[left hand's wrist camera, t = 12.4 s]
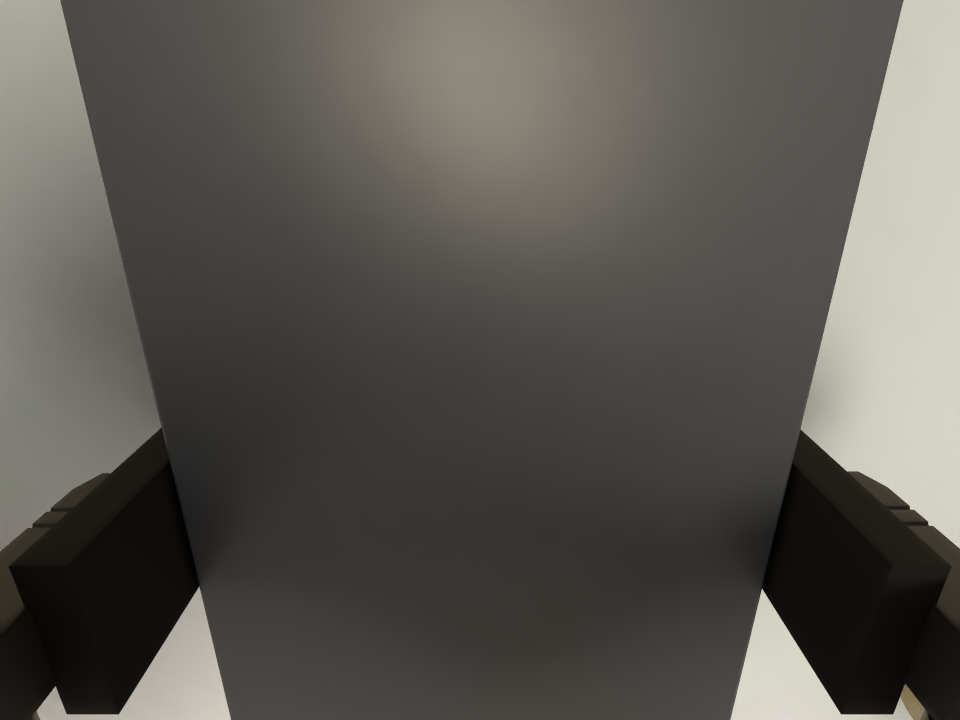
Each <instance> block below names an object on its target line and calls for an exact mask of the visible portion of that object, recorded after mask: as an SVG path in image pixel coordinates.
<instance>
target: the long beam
mask: <svg viewBox="0 0 960 720" xmlns="http://www.w3.org/2000/svg"><path fill="white" fill-rule="evenodd" d="M902 4H903V0H61V5H62V9H63V13H64V17H65V21H66V26H67V30H68V34H69V38H70V43H71V47H72V51H73V55H74V59H75V64H76V68H77V72H78V76H79V80H80V85H81V89H82V93H83V97H84V102H85V106H86V110H87V114H88V118H89V123H90V127H91V131H92V135H93V139H94V144H95V148H96V152H97V156H98V160H99V165H100V169H101V173H102V177H103V182H104V186H105V190H106V194H107V198H108V203H109V207H110V211H111V215H112V219H113V224H114V228H115V232H116V236H117V241H118V245H119V249H120V253H121V257H122V262H123V266H124V270H125V274H126V278H127V283H128V287H129V291H130V295H131V300H132V304H133V308H134V312H135V316H136V321H137V325H138V329H139V333H140V337H141V342H142V346H143V350H144V354H145V358H146V363H147V367H148V371H149V375H150V380H151V384H152V388H153V392H154V396H155V401H156V405H157V409H158V413H159V417H160V422H161V426H162V430H163V434H164V439H165V443H166V447H167V451H168V455H169V460H170V464H171V468H172V472H173V476H174V481H175V485H176V489H177V493H178V498H179V502H180V506H181V510H182V514H183V519H184V523H185V527H186V531H187V535H188V540H189V544H190V548H191V552H192V556H193V561H194V565H195V569H196V573H197V578H198V582H199V586H200V590H201V594H202V599H203V603H204V607H205V611H206V615H207V620H208V624H209V628H210V632H211V637H212V641H213V645H214V649H215V653H216V658H217V662H218V666H219V670H220V674H221V679H222V683H223V687H224V691H225V696H226V700H227V704H228V708H229V712H230V717H231V720H730V719H731V715H732V710H733V706H734V702H735V698H736V694H737V690H738V685H739V681H740V677H741V673H742V669H743V665H744V661H745V656H746V652H747V648H748V644H749V640H750V636H751V631H752V627H753V623H754V619H755V615H756V611H757V606H758V602H759V598H760V594H761V590H762V586H763V582H764V577H765V573H766V569H767V565H768V561H769V557H770V552H771V548H772V544H773V540H774V536H775V532H776V528H777V523H778V519H779V515H780V511H781V507H782V503H783V498H784V494H785V490H786V486H787V482H788V478H789V473H790V469H791V465H792V461H793V457H794V453H795V449H796V444H797V440H798V436H799V432H800V428H801V424H802V419H803V415H804V411H805V407H806V403H807V399H808V394H809V390H810V386H811V382H812V378H813V374H814V370H815V365H816V361H817V357H818V353H819V349H820V345H821V340H822V336H823V332H824V328H825V324H826V320H827V315H828V311H829V307H830V303H831V299H832V295H833V291H834V286H835V282H836V278H837V274H838V270H839V266H840V261H841V257H842V253H843V249H844V245H845V241H846V237H847V232H848V228H849V224H850V220H851V216H852V212H853V207H854V203H855V199H856V195H857V191H858V187H859V182H860V178H861V174H862V170H863V166H864V162H865V158H866V153H867V149H868V145H869V141H870V137H871V133H872V128H873V124H874V120H875V116H876V112H877V108H878V103H879V99H880V95H881V91H882V87H883V83H884V79H885V74H886V70H887V66H888V62H889V58H890V54H891V49H892V45H893V41H894V37H895V33H896V29H897V25H898V20H899V16H900V12H901V8H902Z"/></svg>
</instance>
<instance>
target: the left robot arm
mask: <svg viewBox="0 0 960 720" xmlns="http://www.w3.org/2000/svg"><path fill="white" fill-rule="evenodd" d="M198 588H199V582H198V578H197V573H196V569H195V565H194V561H193V556H192V552H191V548H190V544H189V540H188V535H187V531H186V527H185V523H184V519H183V514H182V510H181V506H180V502H179V498H178V493H177V489H176V485H175V481H174V476H173V472H172V468H171V464H170V460H169V455H168V451H167V447H166V443H165V439H164V434H163V430H162V428H161V429H160V430H159V431H157V432H156V433H155V434H154V435H153V436H152V437H151V438H150V439H149V440H147V441H146V442H145V443H144V444H143V445H142V446H141V447H140V448H139V449H138V450H136V451H135V452H134V453H133V454H132V455H131V456H130V457H129V458H128V459H126V460H125V461H124V462H123V463H122V464H121V465H120V466H119V467H118V468H117V469H115V470H114V471H113V472H112V473H102V474H100V475H99V476H97V477H95V478H93V479H91V480H89V481H87V482H86V483H84V484H82V485H80V486H78V487H76V488H75V489H73V490H72V491H70V492H69V493H68V494H67V495H66V496H65V497H63V498H62V499H61V500H60V501H59V502H58V503H56V504H55V505H54V506H53V507H52V508H51V511H50V512H46V513H45V514H44V515H42V516H41V517H40V518H39V519H38V520H37V521H35V522H34V523H33V526H32V528H27V529H26V530H25V531H24V532H23V533H22V534H20V535H19V536H18V537H17V538H16V539H15V540H13V541H12V542H11V543H10V544H9V545H8V546H6V547H5V548H4V549H3V550H2V551H1V552H0V720H40V718H39V716H38V714H37V711H36V710H37V709H38V708H39V707H40V705H41V704H42V703H43V701H44V700H45V699H46V698H47V696H48V695H49V694H50V692H51V691H52V690H53V689H54V687H55V686H56V688H57V690H58V693H59V695H60V698H61V701H62V703H63V706H64V708H65V711H66V713H67V714H119V713H120V712H121V710H122V708H123V707H124V705H125V704H126V702H127V700H128V699H129V697H130V696H131V694H132V692H133V691H134V689H135V688H136V686H137V685H138V683H139V681H140V680H141V678H142V677H143V675H144V673H145V672H146V670H147V669H148V667H149V665H150V664H151V662H152V661H153V659H154V657H155V656H156V654H157V653H158V651H159V650H160V648H161V646H162V645H163V643H164V642H165V640H166V638H167V637H168V635H169V634H170V632H171V630H172V629H173V627H174V626H175V624H176V623H177V621H178V619H179V618H180V616H181V615H182V613H183V611H184V610H185V608H186V607H187V605H188V603H189V602H190V600H191V599H192V597H193V595H194V594H195V592H196V591H197V589H198ZM762 589H763V591H764V592H765V594H766V595H767V597H768V599H769V600H770V602H771V603H772V605H773V607H774V608H775V610H776V611H777V613H778V615H779V616H780V618H781V619H782V621H783V622H784V624H785V626H786V627H787V629H788V630H789V632H790V634H791V635H792V637H793V638H794V640H795V642H796V643H797V645H798V646H799V648H800V650H801V651H802V653H803V654H804V656H805V657H806V659H807V661H808V662H809V664H810V665H811V667H812V669H813V670H814V672H815V673H816V675H817V677H818V678H819V680H820V681H821V683H822V684H823V686H824V688H825V689H826V691H827V692H828V694H829V696H830V697H831V699H832V700H833V702H834V704H835V705H836V707H837V708H838V710H839V712H840V713H841V714H893V713H894V711H895V708H896V706H897V703H898V701H899V698H900V696H901V693H902V691H903V688H904V685H905V684H906V685H907V687H908V688H909V689H910V690H911V692H912V693H913V694H914V696H915V697H916V698H917V699H918V701H919V702H920V703H921V705H922V706H923V707H924V708H925V709H924V711H923V714H922V716H921V718H920V720H960V549H959V548H958V547H957V546H956V545H955V544H953V543H952V542H951V541H950V540H949V539H948V538H946V537H945V536H944V535H943V534H942V533H941V532H939V531H938V530H937V529H936V528H935V527H934V526H929V525H928V521H927V520H925V519H924V518H923V517H922V516H921V515H919V514H918V513H917V512H916V511H915V510H910V506H909V505H908V504H907V503H905V502H904V501H903V500H902V499H901V498H900V497H898V496H897V495H896V494H895V493H894V492H893V491H891V490H890V489H889V488H888V487H886V486H884V485H882V484H880V483H879V482H877V481H875V480H873V479H871V478H869V477H867V476H865V475H864V474H862V473H860V472H847V471H846V470H845V469H843V468H842V467H841V466H840V465H839V464H838V463H837V462H836V461H835V460H834V459H832V458H831V457H830V456H829V455H828V454H827V453H826V452H825V451H824V450H822V449H821V448H820V447H819V446H818V445H817V444H816V443H815V442H814V441H813V440H811V439H810V438H809V437H808V436H807V435H806V434H805V433H804V432H803V431H801V430H800V432H799V436H798V440H797V444H796V449H795V453H794V457H793V461H792V465H791V469H790V473H789V478H788V482H787V486H786V490H785V494H784V498H783V503H782V507H781V511H780V515H779V519H778V523H777V528H776V532H775V536H774V540H773V544H772V548H771V552H770V557H769V561H768V565H767V569H766V573H765V577H764V582H763V586H762Z"/></svg>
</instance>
